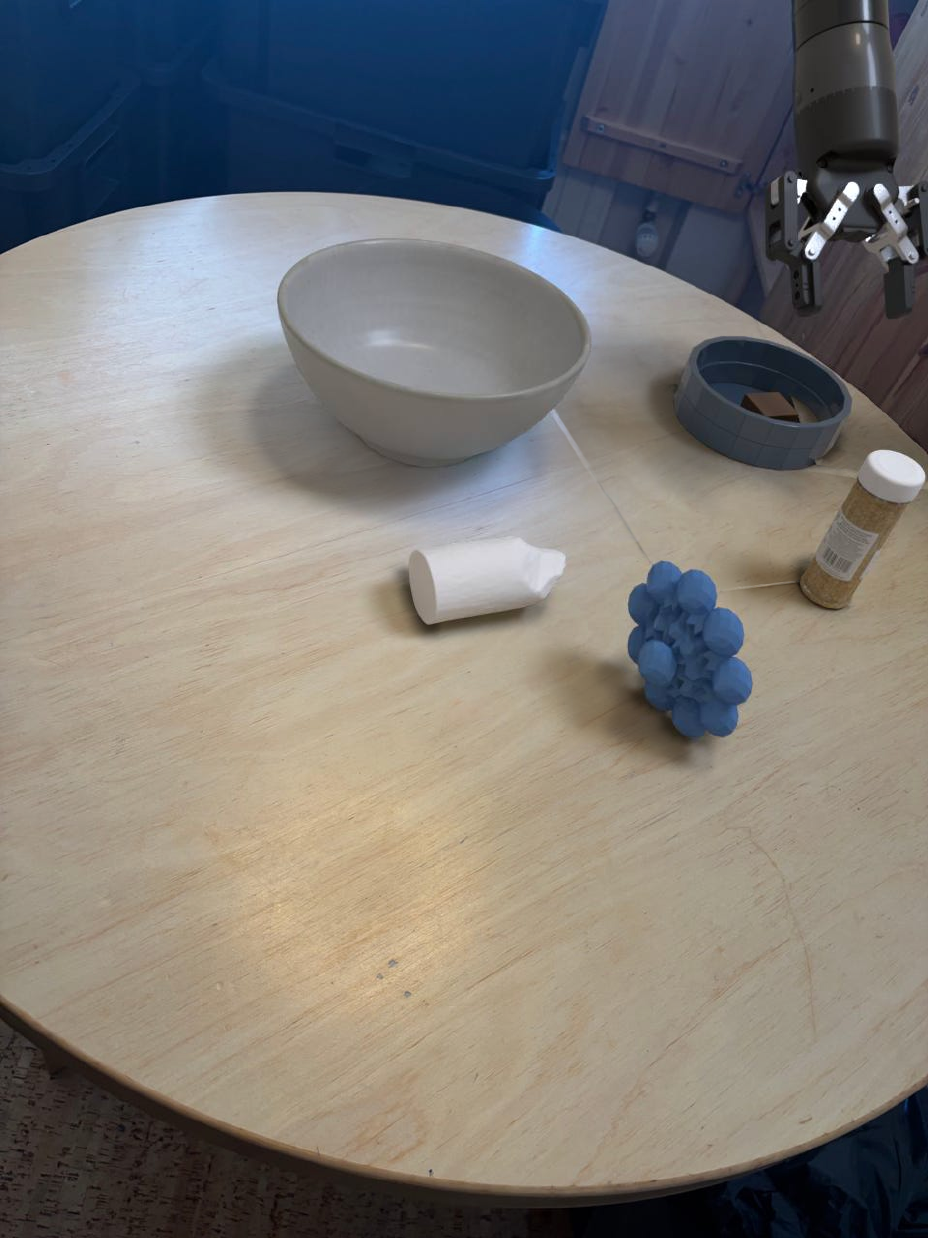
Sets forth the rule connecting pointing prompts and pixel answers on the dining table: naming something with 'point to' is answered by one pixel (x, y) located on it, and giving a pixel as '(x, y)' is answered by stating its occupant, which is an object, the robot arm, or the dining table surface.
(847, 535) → the sprinkles bottle
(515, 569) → the white bottle
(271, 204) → the dining table surface
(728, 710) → the blue knobbly ring
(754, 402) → the block
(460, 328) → the decorative bowl
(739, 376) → the bowl
